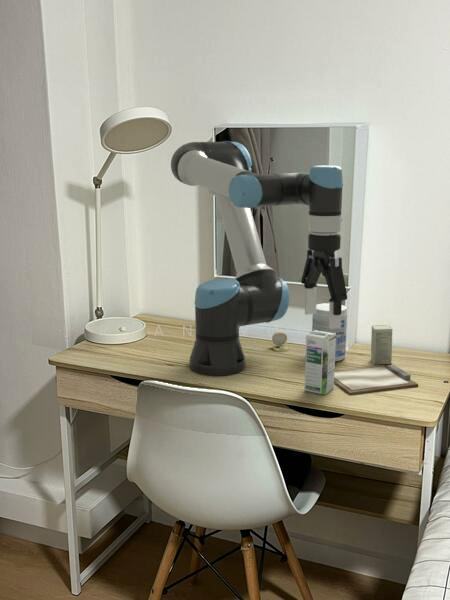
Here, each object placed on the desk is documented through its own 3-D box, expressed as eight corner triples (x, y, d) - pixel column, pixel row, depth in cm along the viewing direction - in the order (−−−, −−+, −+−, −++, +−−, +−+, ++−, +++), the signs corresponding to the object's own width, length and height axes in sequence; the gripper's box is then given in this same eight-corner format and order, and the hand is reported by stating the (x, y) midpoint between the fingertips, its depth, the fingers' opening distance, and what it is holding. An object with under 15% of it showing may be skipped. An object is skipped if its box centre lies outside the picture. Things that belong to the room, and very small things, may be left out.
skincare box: (388, 359, 195) (390, 324, 193) (391, 364, 191) (393, 329, 189) (369, 359, 196) (371, 324, 193) (372, 364, 191) (374, 329, 189)
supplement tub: (338, 365, 191) (340, 313, 187) (305, 359, 195) (307, 308, 192) (350, 355, 199) (352, 305, 196) (319, 350, 204) (320, 301, 200)
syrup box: (303, 391, 172) (305, 334, 169) (313, 383, 177) (315, 328, 174) (325, 395, 169) (327, 338, 166) (334, 388, 174) (336, 332, 171)
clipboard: (323, 374, 184) (323, 368, 183) (387, 367, 189) (387, 360, 189) (349, 394, 170) (349, 387, 169) (418, 386, 175) (418, 379, 175)
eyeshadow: (274, 352, 202) (275, 336, 201) (271, 347, 207) (271, 331, 206) (289, 351, 202) (290, 335, 201) (286, 346, 207) (286, 330, 206)
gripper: (364, 239, 153) (361, 332, 158) (316, 225, 176) (314, 307, 181) (333, 241, 151) (330, 335, 156) (289, 227, 174) (287, 309, 179)
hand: (322, 320), depth 169 cm, fingers open, 13 cm apart
